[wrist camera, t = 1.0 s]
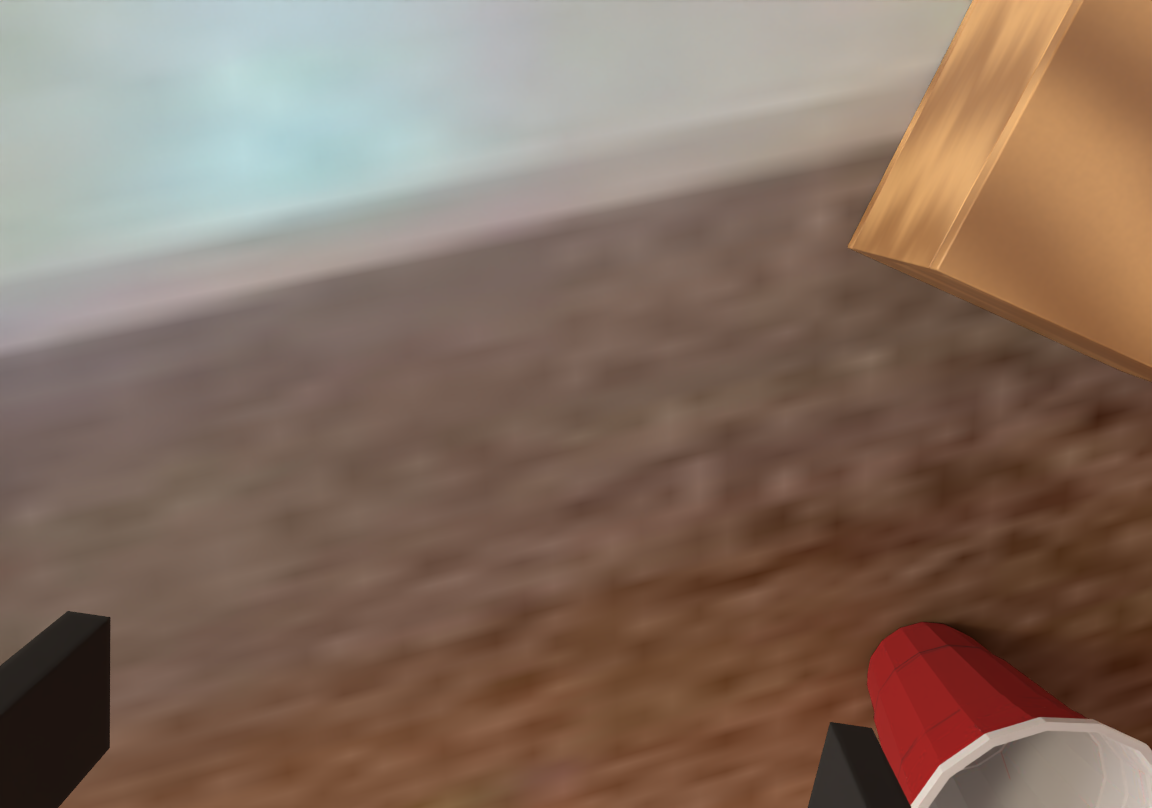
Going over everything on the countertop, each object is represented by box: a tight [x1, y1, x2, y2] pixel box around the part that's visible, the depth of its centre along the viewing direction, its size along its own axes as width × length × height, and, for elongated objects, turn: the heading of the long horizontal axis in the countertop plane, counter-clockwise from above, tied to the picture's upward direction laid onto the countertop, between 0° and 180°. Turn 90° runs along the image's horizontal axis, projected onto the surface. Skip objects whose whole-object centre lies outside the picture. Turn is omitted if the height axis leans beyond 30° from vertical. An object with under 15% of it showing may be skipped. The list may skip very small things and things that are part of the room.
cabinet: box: [848, 0, 1152, 382], centre depth 32 cm, size 13×14×10 cm
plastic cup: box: [867, 622, 1152, 808], centre depth 38 cm, size 11×11×12 cm
